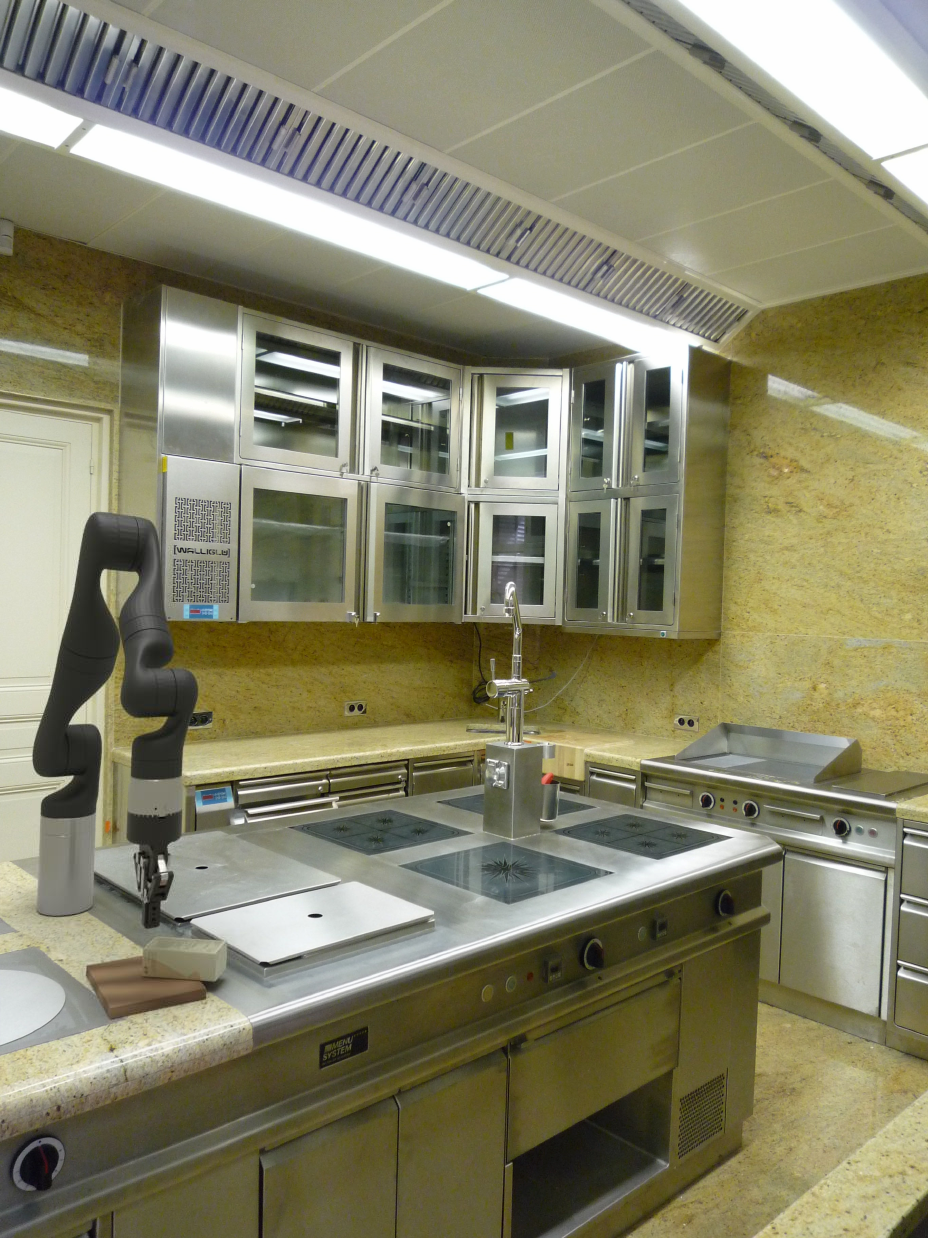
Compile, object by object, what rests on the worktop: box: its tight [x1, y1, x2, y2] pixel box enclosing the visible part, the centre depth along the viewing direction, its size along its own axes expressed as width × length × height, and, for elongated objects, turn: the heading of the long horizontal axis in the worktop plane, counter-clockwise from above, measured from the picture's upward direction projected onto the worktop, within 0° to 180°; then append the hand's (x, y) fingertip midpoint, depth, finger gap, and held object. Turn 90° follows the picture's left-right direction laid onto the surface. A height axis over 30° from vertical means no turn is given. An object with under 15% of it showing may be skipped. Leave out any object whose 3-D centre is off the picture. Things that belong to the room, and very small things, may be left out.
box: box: [142, 936, 228, 982], centre depth 130 cm, size 5×4×11 cm
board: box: [85, 954, 207, 1020], centre depth 128 cm, size 16×13×2 cm
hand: (150, 926), depth 127 cm, fingers closed
